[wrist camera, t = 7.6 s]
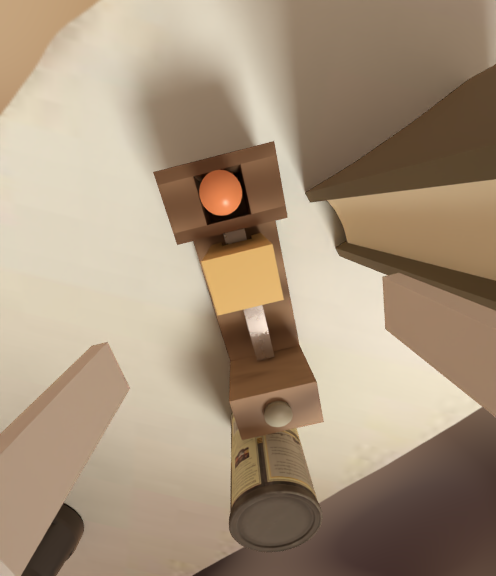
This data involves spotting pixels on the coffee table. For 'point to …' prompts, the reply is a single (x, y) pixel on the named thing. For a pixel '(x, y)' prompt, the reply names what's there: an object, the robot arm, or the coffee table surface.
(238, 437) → the coffee can
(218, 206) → the orange peg
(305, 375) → the wooden base
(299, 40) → the coffee table surface
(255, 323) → the bar
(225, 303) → the carriage
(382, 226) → the book
